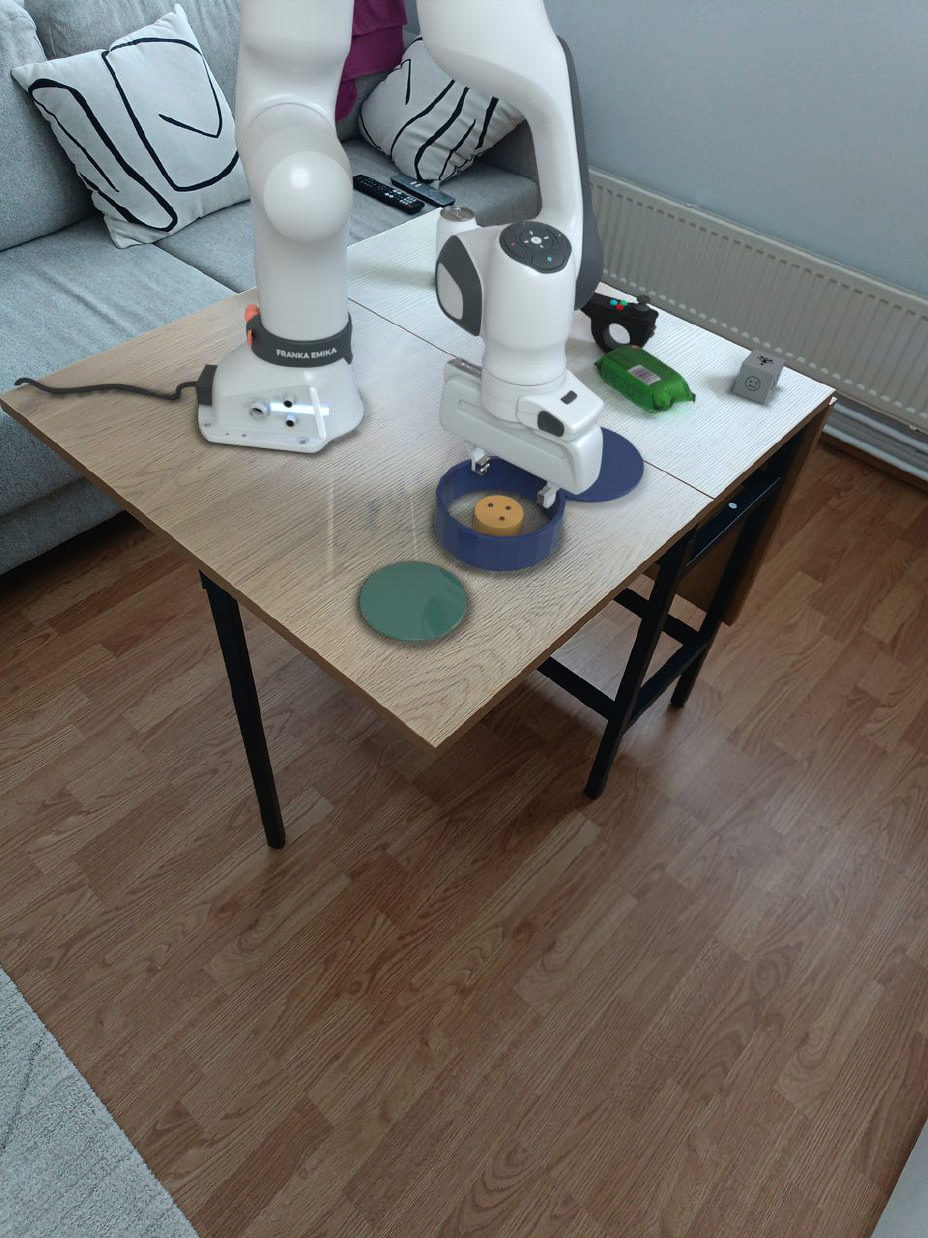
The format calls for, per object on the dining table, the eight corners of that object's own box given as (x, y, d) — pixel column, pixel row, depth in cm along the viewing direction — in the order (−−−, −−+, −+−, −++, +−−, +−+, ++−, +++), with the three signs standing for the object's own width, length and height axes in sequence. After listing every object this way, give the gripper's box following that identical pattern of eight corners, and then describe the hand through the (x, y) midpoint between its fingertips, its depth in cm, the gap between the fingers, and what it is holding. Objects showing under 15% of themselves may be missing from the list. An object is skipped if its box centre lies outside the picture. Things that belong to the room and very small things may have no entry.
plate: (360, 646, 94) (360, 641, 93) (359, 567, 102) (359, 562, 101) (471, 642, 95) (471, 637, 95) (461, 565, 103) (461, 560, 103)
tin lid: (530, 507, 111) (535, 471, 107) (513, 429, 122) (517, 394, 118) (655, 505, 113) (665, 469, 109) (627, 428, 124) (635, 394, 119)
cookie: (475, 544, 105) (477, 526, 103) (470, 511, 109) (472, 493, 107) (524, 543, 106) (527, 525, 104) (517, 510, 110) (520, 493, 108)
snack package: (658, 429, 124) (667, 398, 120) (587, 375, 132) (593, 344, 128) (693, 415, 127) (703, 384, 123) (621, 363, 135) (628, 332, 131)
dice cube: (775, 389, 133) (786, 360, 129) (763, 404, 130) (774, 374, 126) (744, 377, 135) (754, 348, 131) (732, 392, 132) (742, 362, 128)
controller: (641, 369, 134) (655, 309, 127) (569, 345, 138) (579, 284, 130) (651, 357, 137) (666, 297, 129) (580, 333, 140) (590, 273, 133)
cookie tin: (439, 576, 102) (441, 541, 98) (430, 490, 112) (431, 456, 108) (568, 572, 103) (575, 538, 99) (548, 489, 114) (554, 454, 110)
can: (456, 271, 152) (460, 200, 143) (480, 286, 149) (485, 215, 140) (426, 281, 149) (429, 209, 140) (450, 297, 146) (454, 225, 137)
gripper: (427, 363, 95) (427, 464, 106) (586, 436, 88) (569, 537, 98) (462, 340, 99) (459, 439, 109) (618, 408, 91) (598, 508, 101)
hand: (512, 486), depth 104 cm, fingers open, 8 cm apart
